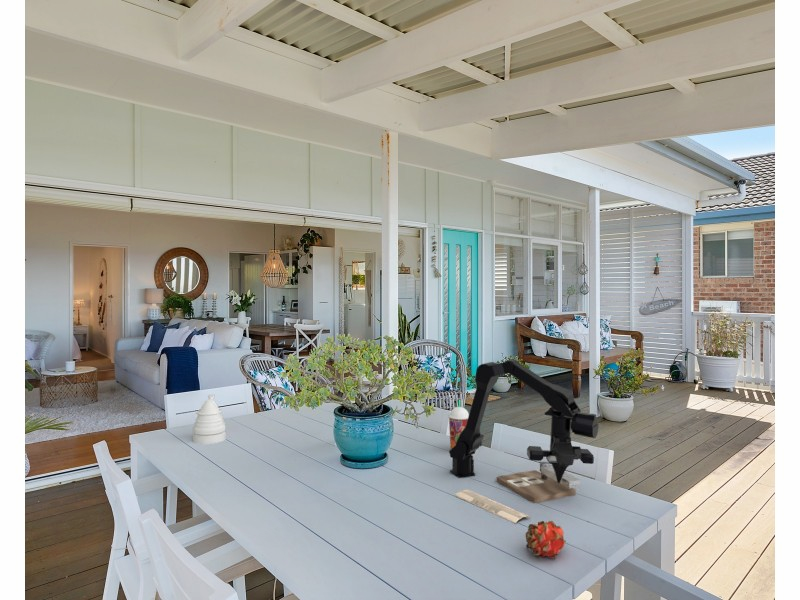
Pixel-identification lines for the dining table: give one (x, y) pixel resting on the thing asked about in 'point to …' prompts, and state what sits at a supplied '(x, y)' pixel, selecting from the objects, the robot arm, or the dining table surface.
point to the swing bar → (566, 478)
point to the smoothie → (457, 423)
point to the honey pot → (209, 424)
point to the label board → (535, 486)
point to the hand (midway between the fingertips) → (558, 482)
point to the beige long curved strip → (491, 506)
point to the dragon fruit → (545, 539)
